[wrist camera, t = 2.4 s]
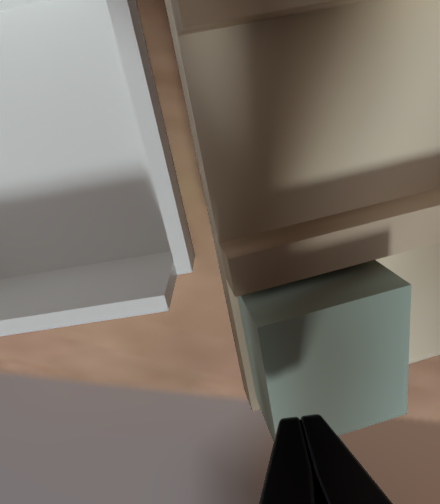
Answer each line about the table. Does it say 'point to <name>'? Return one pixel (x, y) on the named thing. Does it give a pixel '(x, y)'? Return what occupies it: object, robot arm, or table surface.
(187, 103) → the lever
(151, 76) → the bin
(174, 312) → the table surface
